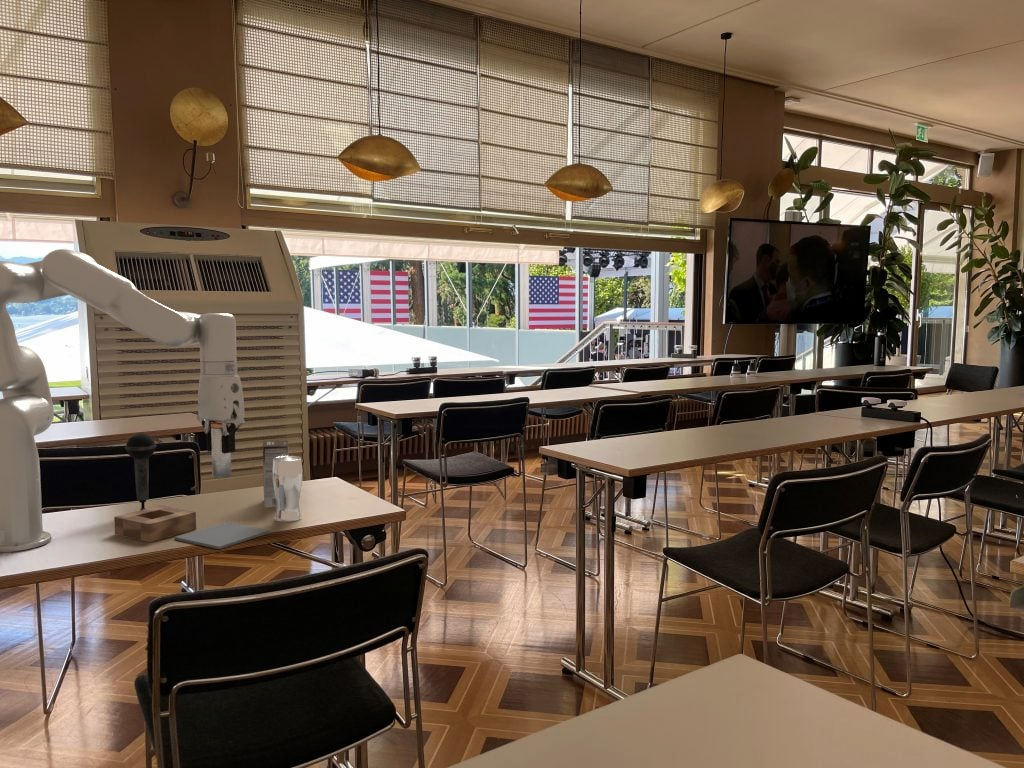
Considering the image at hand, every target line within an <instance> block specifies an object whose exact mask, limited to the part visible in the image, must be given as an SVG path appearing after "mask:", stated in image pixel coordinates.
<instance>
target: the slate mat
mask: <svg viewBox="0 0 1024 768" xmlns="http://www.w3.org/2000/svg"><path fill="white" fill-rule="evenodd" d="M267 534H270V529H264V528H263V529H262V528H259V527H253V526H249V525H243V524H238V523H232V522H228V521H225V522H222V523H218V524H214V525H211V526H207V527H204V528H201V529H198V530H193V531H189V532H187V533H183V534H179V535H178V536H177V535H175V536H174V540H176V541H180V542H185V543H189V544H193V545H199V546H202V547H207V548H212V549H216V550H222V549H225V548H228V547H231V546H234V545H237V544H240V543H243V542H247V541H249V540H252V539H255V538H258V537H261V536H264V535H267Z"/></svg>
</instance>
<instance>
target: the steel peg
mask: <svg viewBox="0 0 1024 768" xmlns="http://www.w3.org/2000/svg"><path fill="white" fill-rule="evenodd" d="M229 426H230V423H228V427H229ZM222 435H224V434H223V428H222V421H219V422H212V423H211V448H212V451H211V472H212V473H211V474H212V475H211V476H212V479H213V478H214V479H225V478H226V479H227V478H231V477H232V452H231V453H226V454H224V453H222V439H221V437H222Z"/></svg>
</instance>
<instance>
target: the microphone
mask: <svg viewBox="0 0 1024 768" xmlns="http://www.w3.org/2000/svg"><path fill="white" fill-rule="evenodd" d="M156 448H157V444H156V442H155V440H154V438H153V437H152V436H150V435H149V434H147V433H136V434H134V435H132V436H131V437H129V439H128V440H127V442H126V445H125V451H126V452H127V454H128V456H129V457H131V458H133V462H134V463H133V464H134V475H135V491H136V500H137V501H139V502H138V503H140V504H141V505H140V507H141V508H140V510H144V509H146V508H145V503H147V500H149V480H150V479H149V477H150V475H149V471H150V470H149V467H150V465H149V463H150V462H149V461H150V460H149V459H150V457H151V456H152V455H153V454H154V453H155V451H156ZM140 510H139V511H140Z"/></svg>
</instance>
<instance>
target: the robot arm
mask: <svg viewBox="0 0 1024 768" xmlns="http://www.w3.org/2000/svg"><path fill="white" fill-rule="evenodd" d="M64 296H71V297H72V298H75V299H76V300H79V301H80V302H83V303H85V304H87V305H89V306H91V307H93V308H95V309H96V310H99V311H101V312H103V313H104V314H106V315H108V316H109V317H111V318H112V319H114V320H115V321H117V322H118V323H121V324H122V325H124V326H126V327H127V328H128V329H131V330H133V331H134V332H136V333H138V334H140V335H142V336H144V337H146V338H147V339H150V340H152V341H153V342H156V343H158V344H160V345H163V346H164V347H169V348H181V347H182V348H183V347H188V346H194V345H199V360H200V361H199V363H200V369H199V370H200V376H199V380H198V389H197V391H198V392H197V415H196V420H197V422H199V423H200V424H201V426H202V427H203V431H204V433H205V434H206V451H207V452H212V448H211V423H213V422H222V428H223V434H224V435H222V437H221V439H222V453H224V454H226V453H231V454H232V453H234V452H236V435H237V433H238V430H239V429H240V427H241V426H243V425H244V424H245V422H246V421H245V400H244V399H245V398H244V393H243V392H244V391H243V385H242V381H241V377H240V375H238V368H239V367H238V359H237V357H238V354H237V353H238V352H237V350H238V349H237V323H236V322H237V321H236V318H235V316H234V315H233V314H231V313H222V312H219V313H217V312H207V313H195V312H194V313H193V312H186V311H175V310H174V309H171V308H169V307H167V306H166V305H163V304H161V303H159V302H157V301H156V300H154V299H152V298H150V297H148V296H147V295H145V294H144V293H142V292H141V291H139V290H138V288H137V287H136V286H135V284H134V283H133V282H132V281H131V280H130V279H128V278H126V277H124V276H123V275H119V274H118V273H116V272H114V271H113V270H112V271H111V270H110V269H107V268H106V267H105V266H102V265H100V264H98V263H97V261H96V260H95V259H94V258H93V257H92V256H90V255H88V254H86V253H84V252H80V251H77V250H76V251H74V250H71V249H66V248H61V249H60V248H59V249H55V250H52V251H50V252H49V253H47V254H46V255H45V256H44V257H43V259H42V260H39V261H33V262H29V263H28V262H27V263H20V262H19V263H18V262H13V261H6V260H0V393H1V394H2V397H3V398H0V553H11V552H12V553H13V552H18V551H26V550H31V549H34V548H38V547H40V546H41V547H42V546H43V545H46V544H48V543H49V542H51V540H52V539H53V538H52V534H51V533H50V532H48V531H44V529H43V509H42V507H43V506H42V488H41V487H42V485H41V468H40V457H39V450H38V447H37V443H36V440H35V436H38V435H40V434H42V433H44V432H46V430H48V429H49V428H50V426H51V425H52V423H53V421H54V417H55V409H54V408H55V407H54V403H53V399H52V395H51V390H50V386H49V385H50V384H49V382H48V376H47V373H46V372H47V371H46V367H45V365H44V362H43V360H42V358H41V357H40V355H39V354H38V353H36V351H34V350H33V349H31V348H29V347H27V346H23V345H20V344H19V343H18V340H17V335H16V330H15V329H16V328H15V325H14V322H13V320H12V318H11V316H10V314H9V312H8V310H7V304H9V303H12V304H14V303H15V304H31V303H36V302H41V301H46V300H51V299H55V298H59V297H64ZM228 423H230V426H229V427H228Z"/></svg>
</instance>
